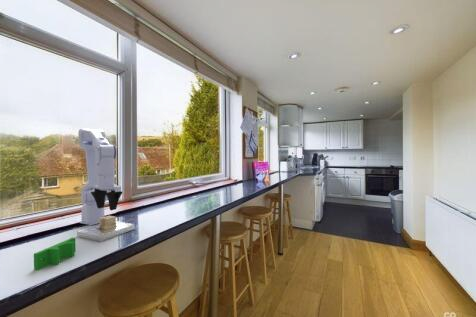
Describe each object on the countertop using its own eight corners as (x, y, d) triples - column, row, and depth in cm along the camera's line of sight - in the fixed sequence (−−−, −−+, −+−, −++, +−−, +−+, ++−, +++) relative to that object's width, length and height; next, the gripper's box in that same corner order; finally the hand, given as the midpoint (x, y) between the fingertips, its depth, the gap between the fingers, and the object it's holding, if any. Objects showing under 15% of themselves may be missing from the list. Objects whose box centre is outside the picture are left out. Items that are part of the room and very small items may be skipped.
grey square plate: (77, 236, 79) (76, 231, 79) (112, 225, 92) (112, 220, 92) (100, 241, 73) (100, 236, 73) (134, 229, 86) (134, 224, 86)
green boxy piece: (46, 271, 55) (45, 254, 55) (34, 271, 55) (33, 253, 55) (83, 252, 66) (82, 237, 66) (72, 251, 66) (72, 237, 66)
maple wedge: (99, 233, 82) (99, 218, 82) (109, 230, 85) (109, 215, 85) (106, 234, 80) (105, 219, 80) (115, 231, 84) (115, 216, 84)
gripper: (127, 174, 83) (128, 208, 83) (104, 173, 89) (105, 205, 89) (110, 175, 77) (111, 212, 77) (87, 175, 83) (87, 209, 83)
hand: (106, 208), depth 83 cm, fingers open, 7 cm apart
